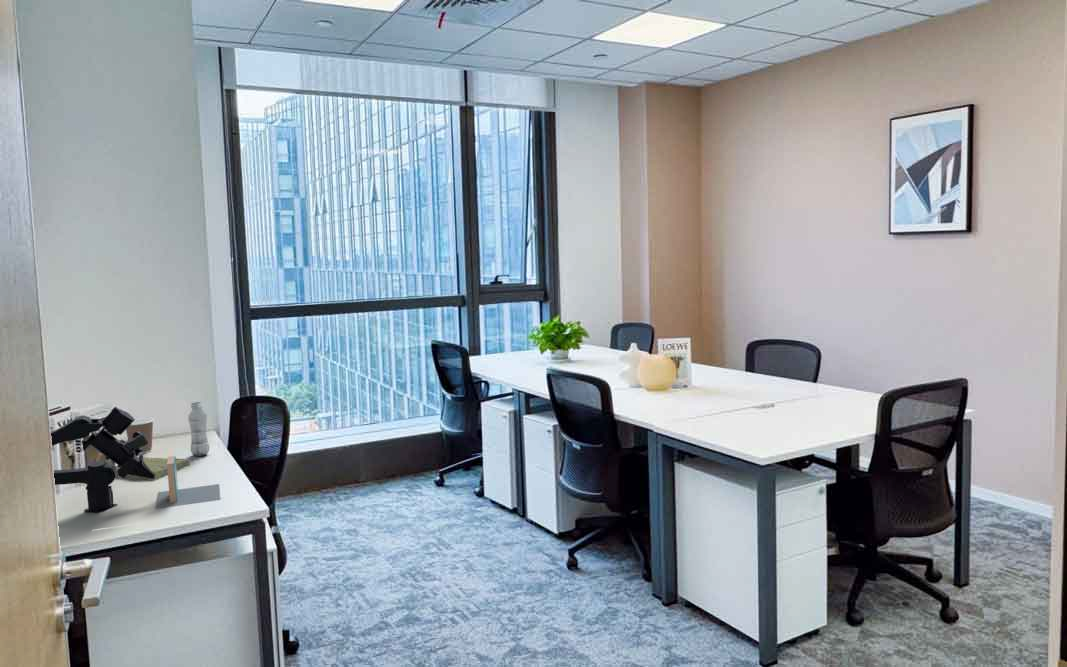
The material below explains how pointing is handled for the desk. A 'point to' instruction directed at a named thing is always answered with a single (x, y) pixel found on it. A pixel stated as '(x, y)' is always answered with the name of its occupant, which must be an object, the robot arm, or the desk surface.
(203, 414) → the plastic bottle
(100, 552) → the desk surface
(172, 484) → the tile
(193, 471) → the desk surface
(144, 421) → the coffee cup
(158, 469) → the decorative tile
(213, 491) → the mat
